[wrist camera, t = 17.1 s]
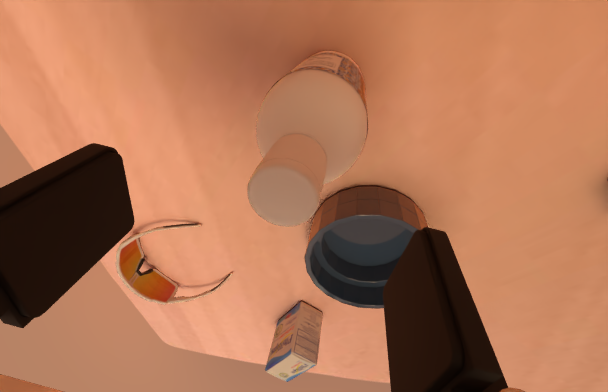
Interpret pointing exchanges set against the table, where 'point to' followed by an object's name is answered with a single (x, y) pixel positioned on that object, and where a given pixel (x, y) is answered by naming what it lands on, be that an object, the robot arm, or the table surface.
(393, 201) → the bowl
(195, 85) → the table surface
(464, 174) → the table surface
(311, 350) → the medicine box
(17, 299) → the robot arm
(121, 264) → the sunglasses
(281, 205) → the bath foam
